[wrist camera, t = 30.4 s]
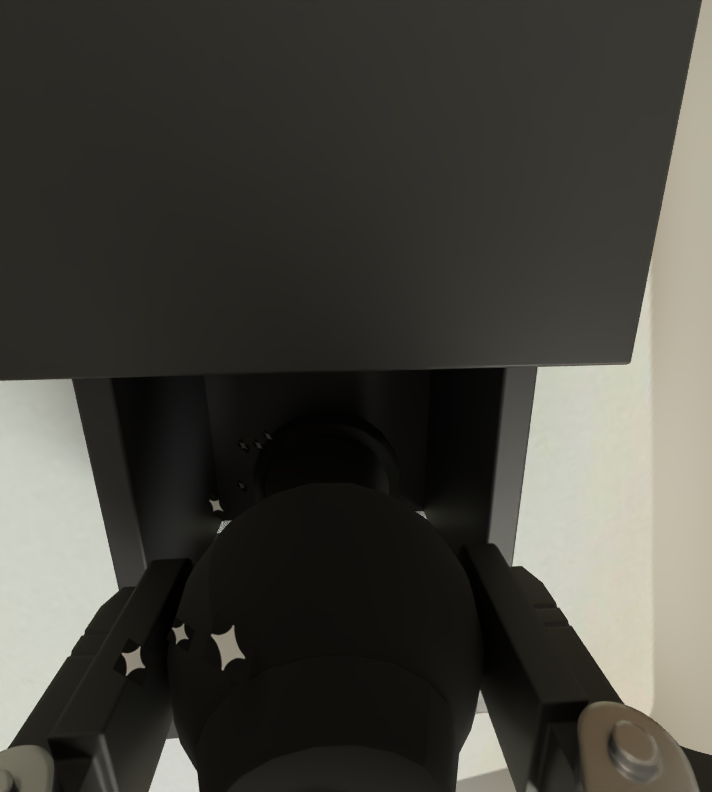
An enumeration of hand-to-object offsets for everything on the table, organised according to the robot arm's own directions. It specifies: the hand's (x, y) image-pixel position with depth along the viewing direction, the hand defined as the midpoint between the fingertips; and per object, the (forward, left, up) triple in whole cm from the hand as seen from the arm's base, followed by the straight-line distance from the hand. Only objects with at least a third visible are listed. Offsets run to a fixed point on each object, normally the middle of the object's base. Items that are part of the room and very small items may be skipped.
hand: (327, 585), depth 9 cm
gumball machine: (0, 0, -6) cm, 6 cm away
